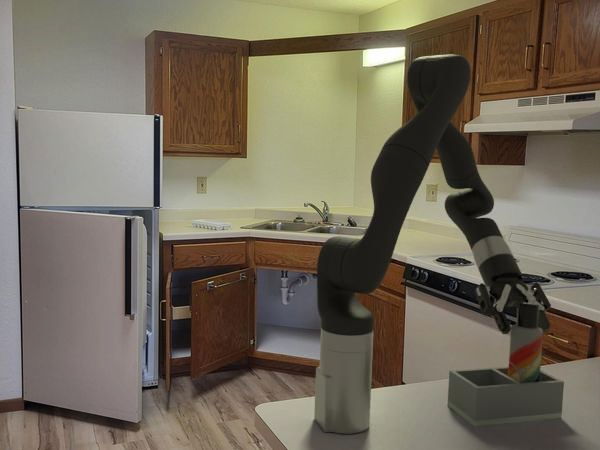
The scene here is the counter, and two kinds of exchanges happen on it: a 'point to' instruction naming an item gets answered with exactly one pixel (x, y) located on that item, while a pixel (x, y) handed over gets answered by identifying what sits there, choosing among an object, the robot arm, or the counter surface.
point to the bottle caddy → (503, 396)
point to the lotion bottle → (525, 345)
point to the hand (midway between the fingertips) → (526, 331)
